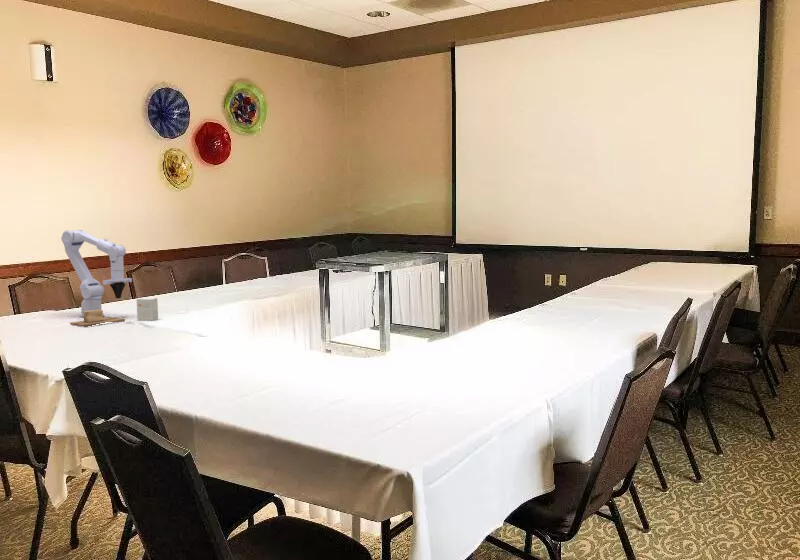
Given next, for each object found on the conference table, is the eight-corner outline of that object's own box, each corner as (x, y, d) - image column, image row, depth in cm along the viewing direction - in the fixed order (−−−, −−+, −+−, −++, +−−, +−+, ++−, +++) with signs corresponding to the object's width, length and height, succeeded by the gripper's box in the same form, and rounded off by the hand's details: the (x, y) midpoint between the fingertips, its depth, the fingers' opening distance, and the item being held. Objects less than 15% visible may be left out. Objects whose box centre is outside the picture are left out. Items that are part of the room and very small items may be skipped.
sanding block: (83, 322, 301) (83, 311, 301) (97, 320, 307) (97, 309, 307) (89, 322, 299) (88, 312, 299) (103, 320, 305) (102, 310, 305)
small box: (158, 319, 318) (157, 297, 317) (152, 320, 313) (152, 299, 311) (142, 318, 319) (142, 297, 318) (136, 320, 313) (136, 298, 312)
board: (69, 324, 300) (69, 322, 300) (109, 318, 317) (108, 316, 317) (85, 327, 294) (85, 325, 293) (124, 321, 311) (124, 319, 310)
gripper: (109, 271, 308) (110, 300, 310) (135, 269, 321) (136, 297, 322) (99, 270, 312) (100, 299, 313) (126, 268, 324) (127, 296, 326)
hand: (118, 298), depth 318 cm, fingers closed
